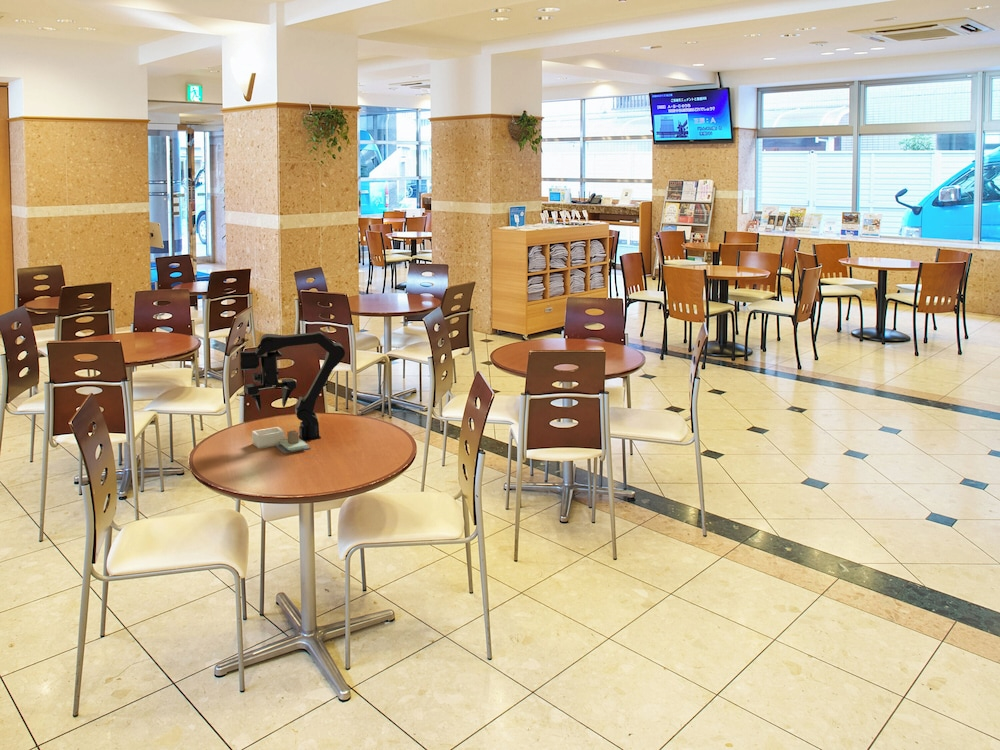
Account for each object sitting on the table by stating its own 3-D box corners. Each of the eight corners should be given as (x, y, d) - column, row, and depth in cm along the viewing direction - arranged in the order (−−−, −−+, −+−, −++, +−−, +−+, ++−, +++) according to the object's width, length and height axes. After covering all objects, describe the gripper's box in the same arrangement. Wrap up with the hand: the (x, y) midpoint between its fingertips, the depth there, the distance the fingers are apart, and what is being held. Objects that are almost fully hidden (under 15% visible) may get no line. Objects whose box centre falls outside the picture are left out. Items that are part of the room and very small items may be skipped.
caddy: (278, 439, 332) (277, 426, 331) (285, 444, 326) (284, 431, 325) (252, 443, 327) (252, 431, 325) (259, 449, 321) (258, 436, 320)
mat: (301, 442, 329) (301, 441, 328) (310, 448, 322) (310, 447, 322) (276, 447, 323) (275, 446, 323) (284, 453, 316) (284, 452, 316)
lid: (308, 449, 320) (307, 434, 319) (288, 452, 316) (288, 437, 315) (297, 441, 328) (297, 426, 327) (278, 444, 324) (278, 430, 323)
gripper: (285, 360, 335) (288, 399, 339) (237, 367, 325) (240, 407, 329) (296, 366, 326) (298, 406, 330) (247, 373, 316) (249, 414, 320)
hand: (271, 408), depth 328 cm, fingers open, 9 cm apart
